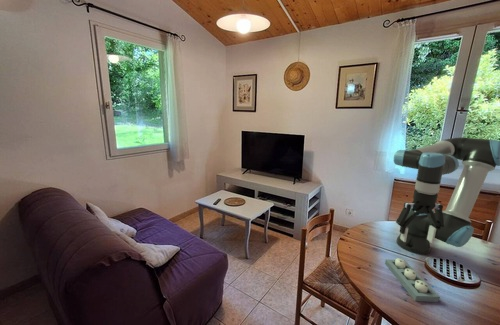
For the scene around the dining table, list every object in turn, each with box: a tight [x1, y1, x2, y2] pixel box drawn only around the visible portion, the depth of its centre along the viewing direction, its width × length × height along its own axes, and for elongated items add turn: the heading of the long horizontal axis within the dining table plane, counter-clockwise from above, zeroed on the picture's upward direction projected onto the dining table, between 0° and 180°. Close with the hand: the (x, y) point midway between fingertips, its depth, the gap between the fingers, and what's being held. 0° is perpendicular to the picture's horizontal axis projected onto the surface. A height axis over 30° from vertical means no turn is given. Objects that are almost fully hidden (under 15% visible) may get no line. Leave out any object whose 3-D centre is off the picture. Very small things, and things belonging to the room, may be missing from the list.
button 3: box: [414, 280, 429, 293], centre depth 91 cm, size 4×4×3 cm
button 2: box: [404, 268, 418, 280], centre depth 98 cm, size 4×4×3 cm
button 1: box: [394, 257, 407, 269], centre depth 105 cm, size 4×4×3 cm
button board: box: [384, 258, 441, 303], centre depth 98 cm, size 9×22×2 cm, turn 177°
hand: (416, 240), depth 94 cm, fingers open, 10 cm apart
